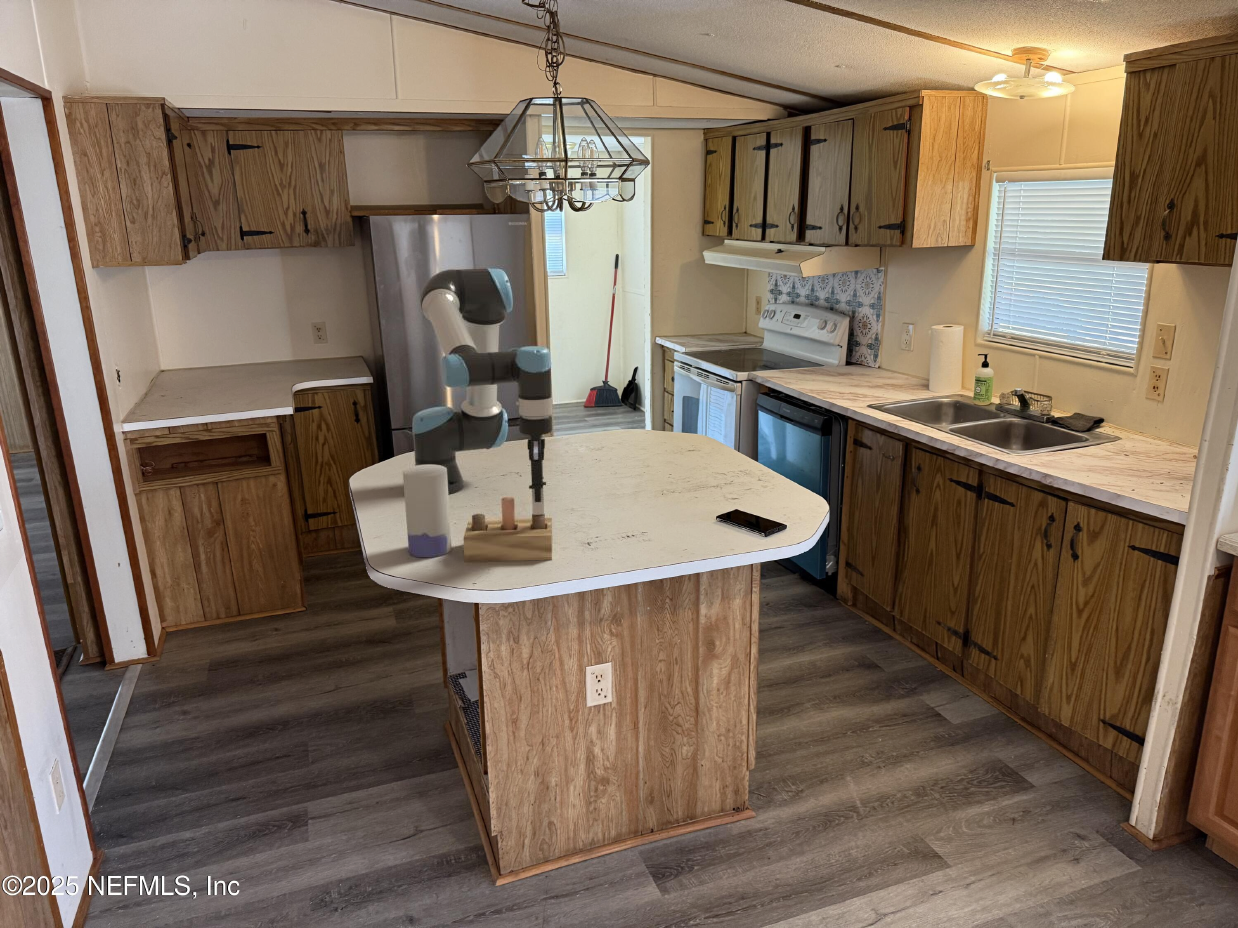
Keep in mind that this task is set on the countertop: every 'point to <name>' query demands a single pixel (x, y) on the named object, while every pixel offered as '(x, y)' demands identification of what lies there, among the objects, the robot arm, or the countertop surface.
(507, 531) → the oak block
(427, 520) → the container
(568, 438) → the countertop surface
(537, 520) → the walnut peg
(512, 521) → the terracotta peg
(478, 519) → the walnut peg
